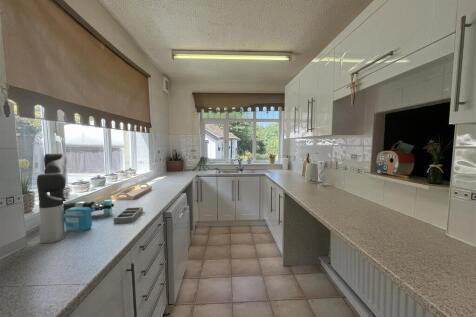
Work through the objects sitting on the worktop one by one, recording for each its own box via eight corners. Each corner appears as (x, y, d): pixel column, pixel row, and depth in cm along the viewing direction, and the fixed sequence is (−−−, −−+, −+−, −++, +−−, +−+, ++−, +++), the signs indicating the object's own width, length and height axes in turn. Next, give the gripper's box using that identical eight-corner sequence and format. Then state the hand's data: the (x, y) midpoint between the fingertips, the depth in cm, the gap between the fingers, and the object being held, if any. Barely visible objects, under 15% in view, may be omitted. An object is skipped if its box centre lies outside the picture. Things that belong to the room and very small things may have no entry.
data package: (65, 230, 123) (64, 209, 122) (71, 227, 128) (70, 207, 127) (86, 230, 123) (85, 209, 122) (92, 227, 127) (91, 207, 127)
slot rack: (132, 222, 136) (132, 216, 135) (113, 223, 134) (113, 217, 134) (142, 211, 157) (142, 206, 157) (127, 212, 156) (126, 207, 156)
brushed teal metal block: (110, 215, 149) (109, 200, 149) (103, 215, 149) (103, 201, 148) (112, 214, 153) (111, 199, 152) (106, 214, 152) (105, 199, 151)
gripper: (78, 204, 141) (107, 203, 143) (90, 199, 155) (116, 198, 157) (79, 216, 142) (107, 214, 144) (90, 209, 156) (116, 208, 158)
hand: (112, 206), depth 151 cm, fingers open, 3 cm apart
